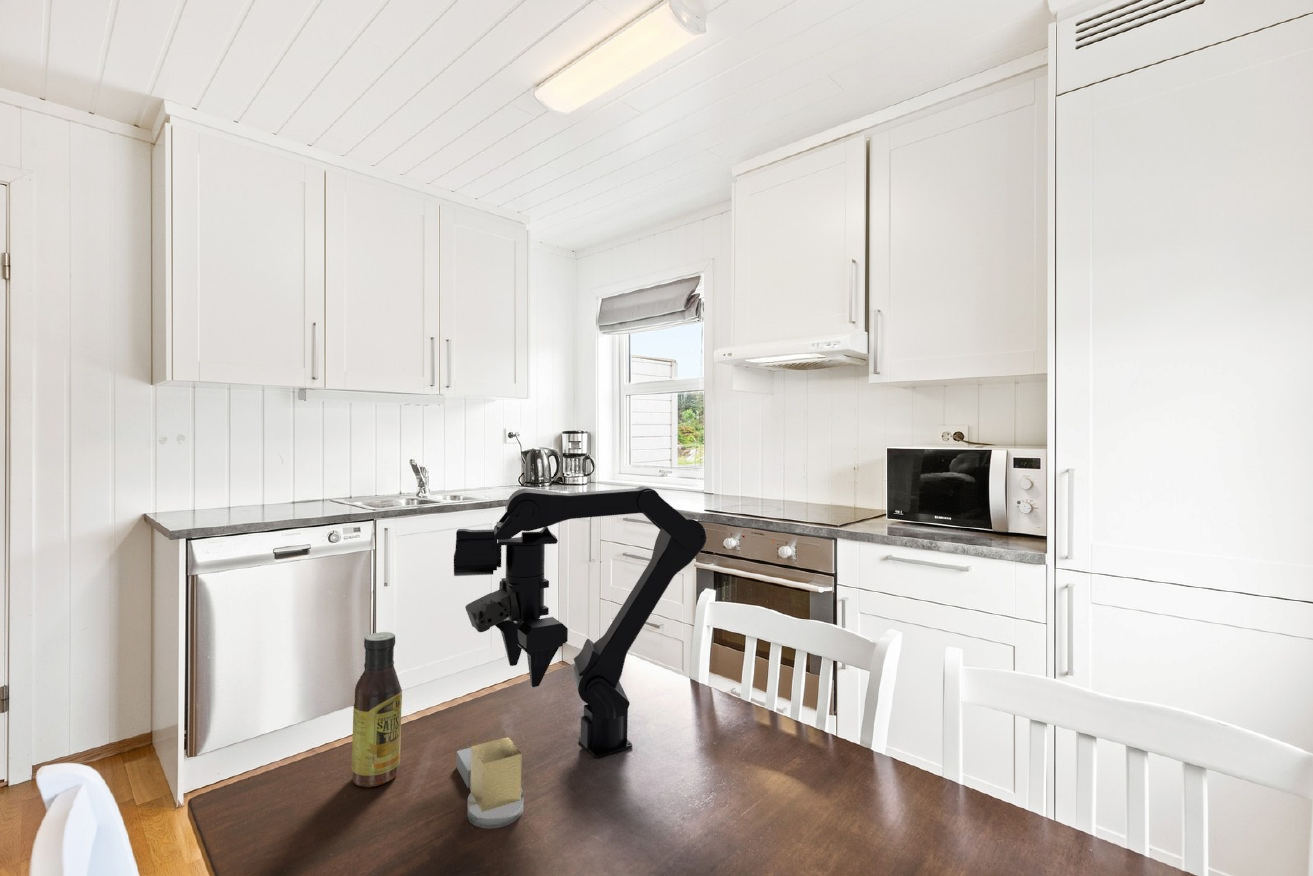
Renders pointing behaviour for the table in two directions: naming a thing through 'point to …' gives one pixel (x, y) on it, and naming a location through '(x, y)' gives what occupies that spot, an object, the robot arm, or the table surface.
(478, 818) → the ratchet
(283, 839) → the table surface
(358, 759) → the sauce bottle
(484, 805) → the wooden toy block
